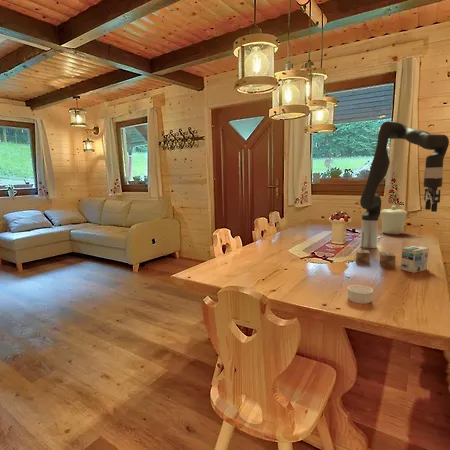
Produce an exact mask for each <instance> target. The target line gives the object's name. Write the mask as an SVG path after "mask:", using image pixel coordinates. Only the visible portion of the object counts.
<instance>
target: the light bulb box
mask: <svg viewBox="0 0 450 450" xmlns="http://www.w3.org/2000/svg"><path fill="white" fill-rule="evenodd" d="M401 250H402V251H401V263H400V270H402V271H405V272H410V273H413V274H414V273H418V272H422V271H426V270H428V260H429V248H428V247H425V246H421V245H416V244H415V245H411V246H406V247H402V249H401Z"/></svg>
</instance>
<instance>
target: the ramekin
mask: <svg viewBox="0 0 450 450" xmlns="http://www.w3.org/2000/svg"><path fill="white" fill-rule="evenodd" d="M373 293H374V289H373V288H372V287H370V286H367V285H362V284H352V285H349V286H347V297H348V300H350V301H351V303H352V302H353V303H356V304H360V305H362V304H363V305H366V304H367V305H368V304H370V303H371V302H372V300H373Z"/></svg>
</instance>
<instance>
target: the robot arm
mask: <svg viewBox="0 0 450 450" xmlns="http://www.w3.org/2000/svg"><path fill="white" fill-rule="evenodd" d="M389 139H391V140H394V139H395V140H397V139H398V140H400V139H401V140H406V141H407V142H408V143H410V144H414V145H417V146H420V147H421V148H422V149H425V150H428V151H433V153H432V154H430V155H428V156H426V158H425V169H424V173H423V188H424V195H423V201H424V203H425V204H424V205H425V206H424V207H425V208H424V209H425V210H430V211H431V212H434V213H436V212H438V205H439V204H440V202H441V189H438V188H441V187H443V180H444V179H443V178H444V158H445V156H446V153H447V151H448V148H449V145H450V140H449V137H448V135H445V134H432V133H430V132H428V131H426V130H421V129H417V128H412V127H408V126H406V125H405V124H403V123H401V122H399V121H391V120H385V121H383V122H382V123H381V125H380V127H379V131H378V135H377V141H376V147H375V151H374V155H373V159H372V162H371V166H370V168H369V174H368V177H367V181H366V184H365V186H364V189H363V191H362V195H361V197H360V199H359V200H360V201H359V203H360V207H361V208H362V209H364V210H365V212H364V213H363V214H362V216H361V229H360V239H359V242H360V243H359V245H360V248H364V249H376V248H377V246H378V245H377V244H378V231H379V229H378V228H379V217H381V212H380V211H382V198H381V196H380V194H378V193H376V192H377V190H378V187H379V185H380V184H381V183H382V182H383V180H384V179H385V178H386V176H387V173H388V171H389V168H390V162H391V161H390V157H389V153H388V141H389Z"/></svg>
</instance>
